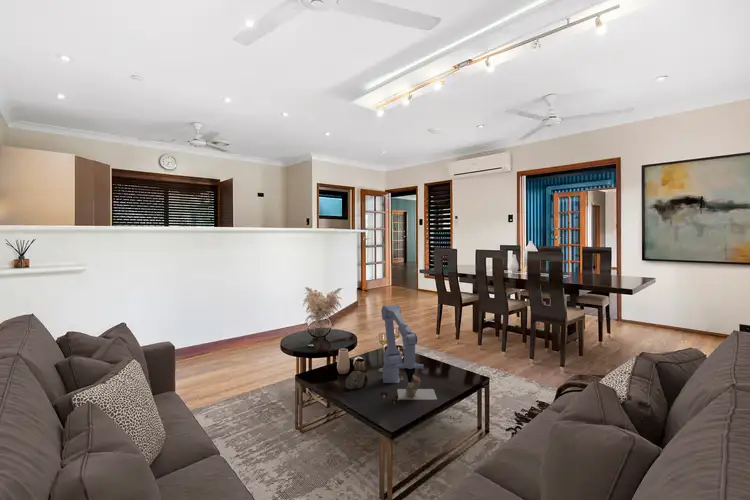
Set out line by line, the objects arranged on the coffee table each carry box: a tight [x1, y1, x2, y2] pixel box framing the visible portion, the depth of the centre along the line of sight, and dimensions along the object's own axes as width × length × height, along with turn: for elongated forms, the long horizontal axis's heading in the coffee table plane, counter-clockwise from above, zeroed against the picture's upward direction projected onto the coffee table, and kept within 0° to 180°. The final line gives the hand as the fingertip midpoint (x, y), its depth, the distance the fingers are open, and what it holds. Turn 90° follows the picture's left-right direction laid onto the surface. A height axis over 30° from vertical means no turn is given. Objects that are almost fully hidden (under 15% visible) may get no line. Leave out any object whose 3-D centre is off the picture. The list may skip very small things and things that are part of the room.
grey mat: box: [396, 388, 438, 401], centre depth 192 cm, size 20×12×1 cm, turn 90°
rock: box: [345, 370, 367, 390], centre depth 202 cm, size 12×7×10 cm, turn 121°
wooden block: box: [405, 374, 421, 398], centre depth 191 cm, size 4×6×9 cm, turn 1°
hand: (409, 381), depth 191 cm, fingers closed
